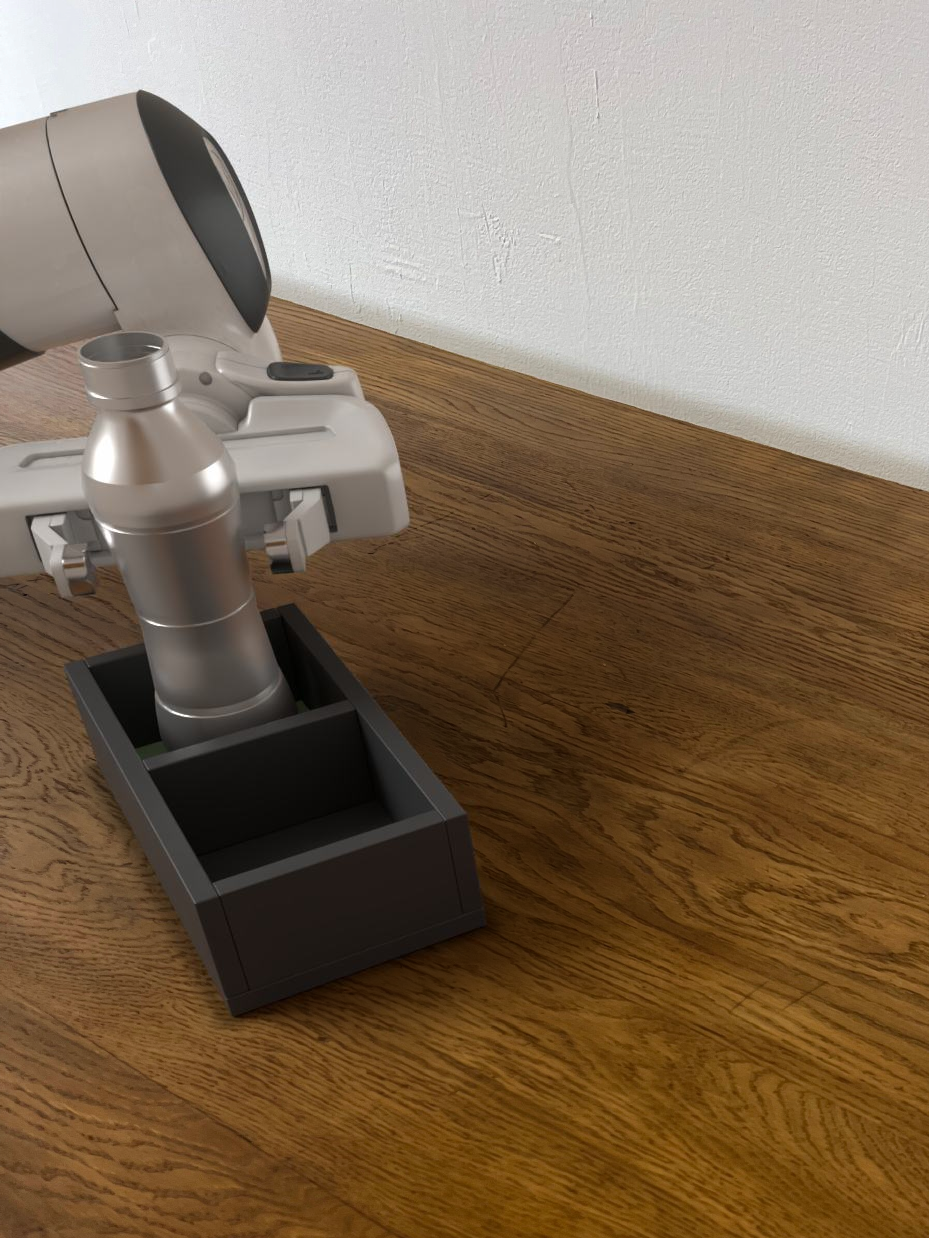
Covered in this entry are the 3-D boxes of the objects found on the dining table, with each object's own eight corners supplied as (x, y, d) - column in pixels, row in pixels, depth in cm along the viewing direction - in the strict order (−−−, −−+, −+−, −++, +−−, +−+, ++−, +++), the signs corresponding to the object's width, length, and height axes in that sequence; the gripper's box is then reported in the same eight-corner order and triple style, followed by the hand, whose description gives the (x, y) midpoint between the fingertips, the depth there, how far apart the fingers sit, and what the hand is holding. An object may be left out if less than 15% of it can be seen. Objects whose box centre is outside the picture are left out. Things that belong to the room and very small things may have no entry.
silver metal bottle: (299, 720, 80) (195, 309, 67) (320, 790, 76) (213, 363, 62) (168, 746, 79) (34, 330, 65) (182, 819, 74) (41, 387, 60)
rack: (232, 1017, 66) (194, 904, 62) (100, 770, 79) (61, 663, 75) (487, 925, 70) (467, 813, 66) (319, 705, 84) (294, 601, 80)
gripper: (-48, 402, 75) (-101, 526, 65) (386, 363, 78) (399, 475, 69) (-2, 528, 80) (-44, 662, 70) (408, 486, 83) (423, 609, 73)
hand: (179, 569), depth 69 cm, fingers open, 8 cm apart
